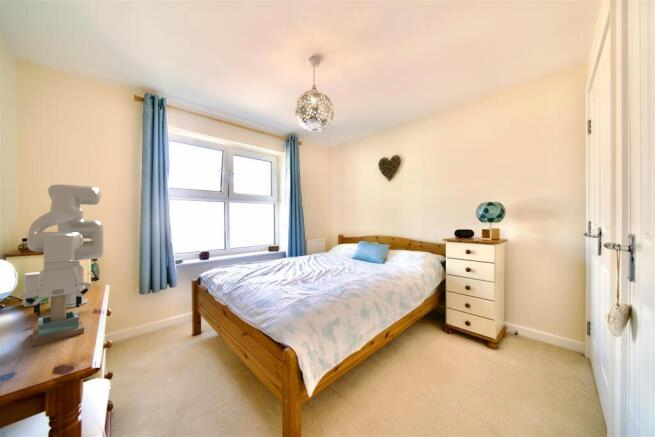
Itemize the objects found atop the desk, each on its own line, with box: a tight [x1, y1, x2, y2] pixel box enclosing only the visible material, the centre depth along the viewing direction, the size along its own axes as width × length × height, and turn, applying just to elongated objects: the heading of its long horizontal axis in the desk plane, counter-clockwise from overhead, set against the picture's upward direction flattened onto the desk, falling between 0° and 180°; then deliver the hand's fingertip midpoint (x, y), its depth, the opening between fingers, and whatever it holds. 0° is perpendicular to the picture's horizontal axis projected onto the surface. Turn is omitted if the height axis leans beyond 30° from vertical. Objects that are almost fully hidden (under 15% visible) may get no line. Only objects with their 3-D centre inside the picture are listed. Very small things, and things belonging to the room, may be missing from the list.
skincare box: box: [22, 271, 51, 308], centre depth 115 cm, size 8×7×16 cm
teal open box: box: [32, 309, 85, 348], centre depth 86 cm, size 14×12×6 cm
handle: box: [49, 289, 67, 323], centre depth 86 cm, size 5×6×15 cm
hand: (58, 310), depth 86 cm, fingers open, 9 cm apart
